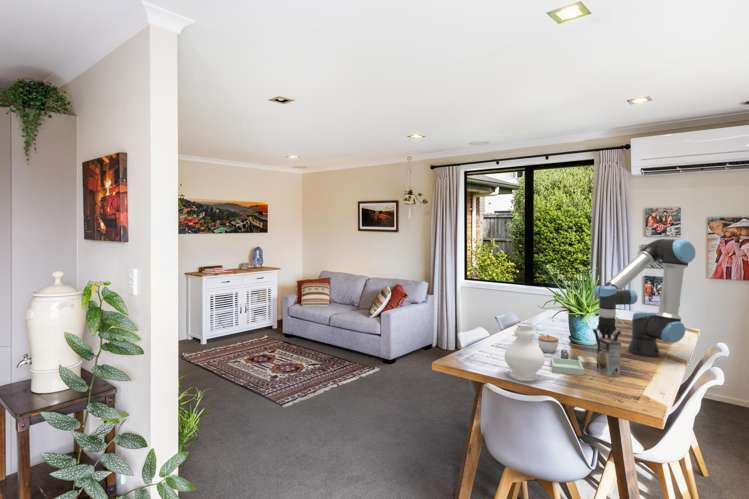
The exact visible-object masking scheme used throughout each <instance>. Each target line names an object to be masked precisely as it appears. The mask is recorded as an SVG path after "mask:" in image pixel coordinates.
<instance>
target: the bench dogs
mask: <svg viewBox="0 0 749 499" xmlns="http://www.w3.org/2000/svg"><path fill="white" fill-rule="evenodd" d="M569 357H570V356H569V353H568V350H567V349H561V350H560V359H569Z"/></svg>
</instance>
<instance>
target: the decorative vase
mask: <svg viewBox="0 0 749 499" xmlns="http://www.w3.org/2000/svg"><path fill="white" fill-rule="evenodd" d="M533 328H534V324H533V323H530V322H517V323H516V328H515V330H514V332H513V333H514V335H515V336H516V337H517V338H516V339H515V340H513V341H512V342H511V343H510V344H509V345H508V346H507V348H506V349H505V352H504V360H505V362H506V364H507V366H508V367H509V368H510V370H511V372H510V373H509V376H510V377H511V378H512V379H514V380H517V381H520V382H521V381H523V382H535V381H537V380H538V379H539V376H538V375H537V374H536V373H537V372H539V370H540V369H542V368H543V366H544V364H545V360H546V359H545V354H544V352H543V351H542V350H541V349H540V347H539V344H538V343H536V341H534V340H533V338H535V336H536V330H534V329H533Z"/></svg>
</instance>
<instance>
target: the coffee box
mask: <svg viewBox="0 0 749 499" xmlns="http://www.w3.org/2000/svg"><path fill="white" fill-rule="evenodd" d="M621 350H622V343H621V342H619V341H618V340H617V341H614V340H613V339H612V338H611V339H610V338H609V339H607V337H605V338H602V337H601V338H600V337H599V338H598V346H597V350H596V351H597V355H596V356H597V357H596V361H597V367H596V371H598V372H599V373H601V374H602V375H605V377H620V376H621V375H620V372H621V370H620V369H621V353H622V351H621Z"/></svg>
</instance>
